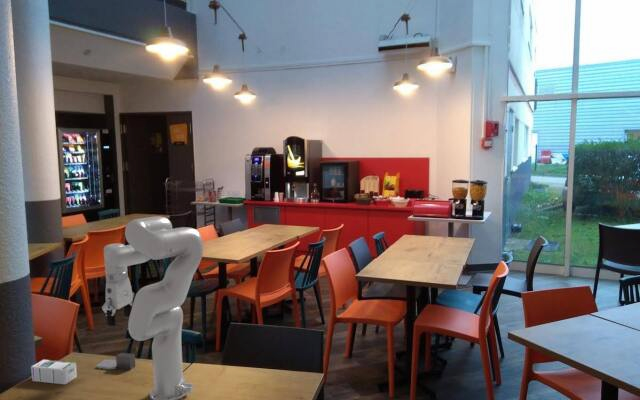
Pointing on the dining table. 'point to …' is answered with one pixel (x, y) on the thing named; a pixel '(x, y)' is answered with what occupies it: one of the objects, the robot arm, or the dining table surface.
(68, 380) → the syrup box
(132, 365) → the two-tone stacked blocks
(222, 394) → the dining table surface
